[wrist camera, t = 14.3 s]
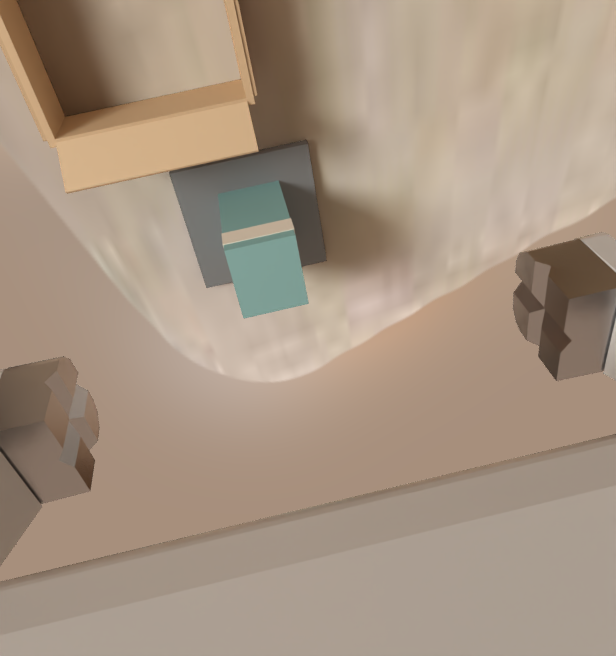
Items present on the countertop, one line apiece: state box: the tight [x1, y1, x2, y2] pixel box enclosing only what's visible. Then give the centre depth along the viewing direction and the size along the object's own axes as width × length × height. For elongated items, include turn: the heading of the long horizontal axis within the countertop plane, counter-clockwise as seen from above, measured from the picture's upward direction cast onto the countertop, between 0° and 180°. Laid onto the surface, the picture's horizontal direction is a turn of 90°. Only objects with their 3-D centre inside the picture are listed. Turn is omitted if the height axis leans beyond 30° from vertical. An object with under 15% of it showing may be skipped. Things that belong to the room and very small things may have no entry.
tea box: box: [218, 181, 309, 318], centre depth 46 cm, size 5×6×9 cm
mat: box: [170, 140, 327, 288], centre depth 50 cm, size 11×11×1 cm
